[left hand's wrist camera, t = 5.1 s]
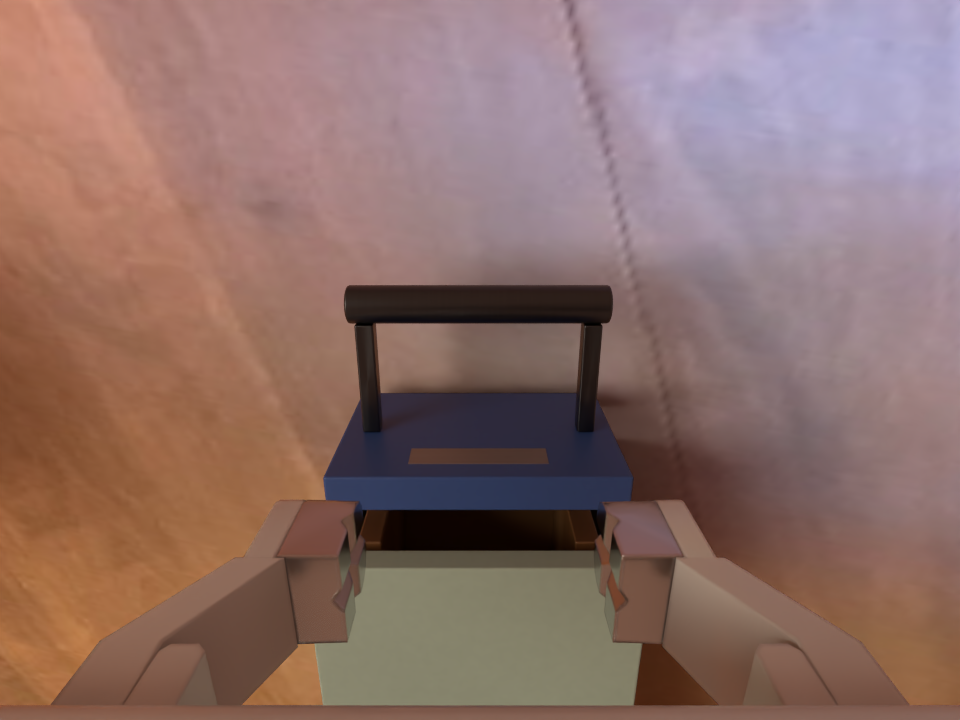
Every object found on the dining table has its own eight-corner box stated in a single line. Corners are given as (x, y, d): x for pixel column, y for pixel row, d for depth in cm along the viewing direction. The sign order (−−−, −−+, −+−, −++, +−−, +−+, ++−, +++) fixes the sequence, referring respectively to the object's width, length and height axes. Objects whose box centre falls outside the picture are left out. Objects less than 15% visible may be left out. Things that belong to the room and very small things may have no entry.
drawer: (352, 266, 21) (303, 313, 15) (604, 266, 21) (653, 313, 15) (388, 713, 29) (366, 854, 23) (568, 713, 29) (590, 854, 23)
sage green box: (357, 438, 24) (302, 568, 17) (600, 437, 24) (654, 568, 17) (384, 745, 31) (354, 935, 24) (573, 745, 31) (603, 934, 24)
